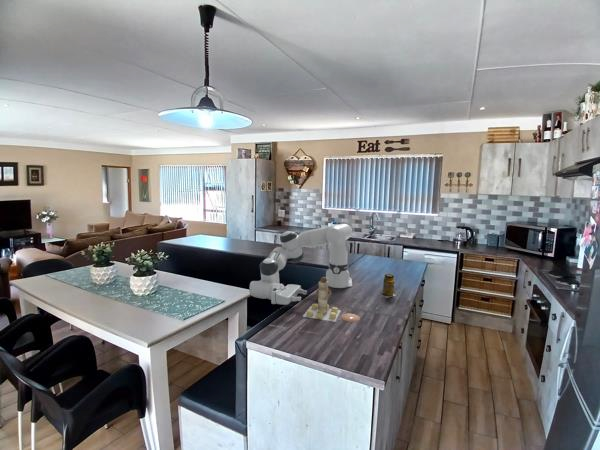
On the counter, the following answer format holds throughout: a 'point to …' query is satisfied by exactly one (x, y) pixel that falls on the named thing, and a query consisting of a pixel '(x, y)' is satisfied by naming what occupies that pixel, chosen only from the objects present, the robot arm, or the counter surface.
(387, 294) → the condiment
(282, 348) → the counter surface
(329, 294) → the cupcake
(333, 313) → the mat
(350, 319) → the coaster
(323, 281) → the pepper mill
